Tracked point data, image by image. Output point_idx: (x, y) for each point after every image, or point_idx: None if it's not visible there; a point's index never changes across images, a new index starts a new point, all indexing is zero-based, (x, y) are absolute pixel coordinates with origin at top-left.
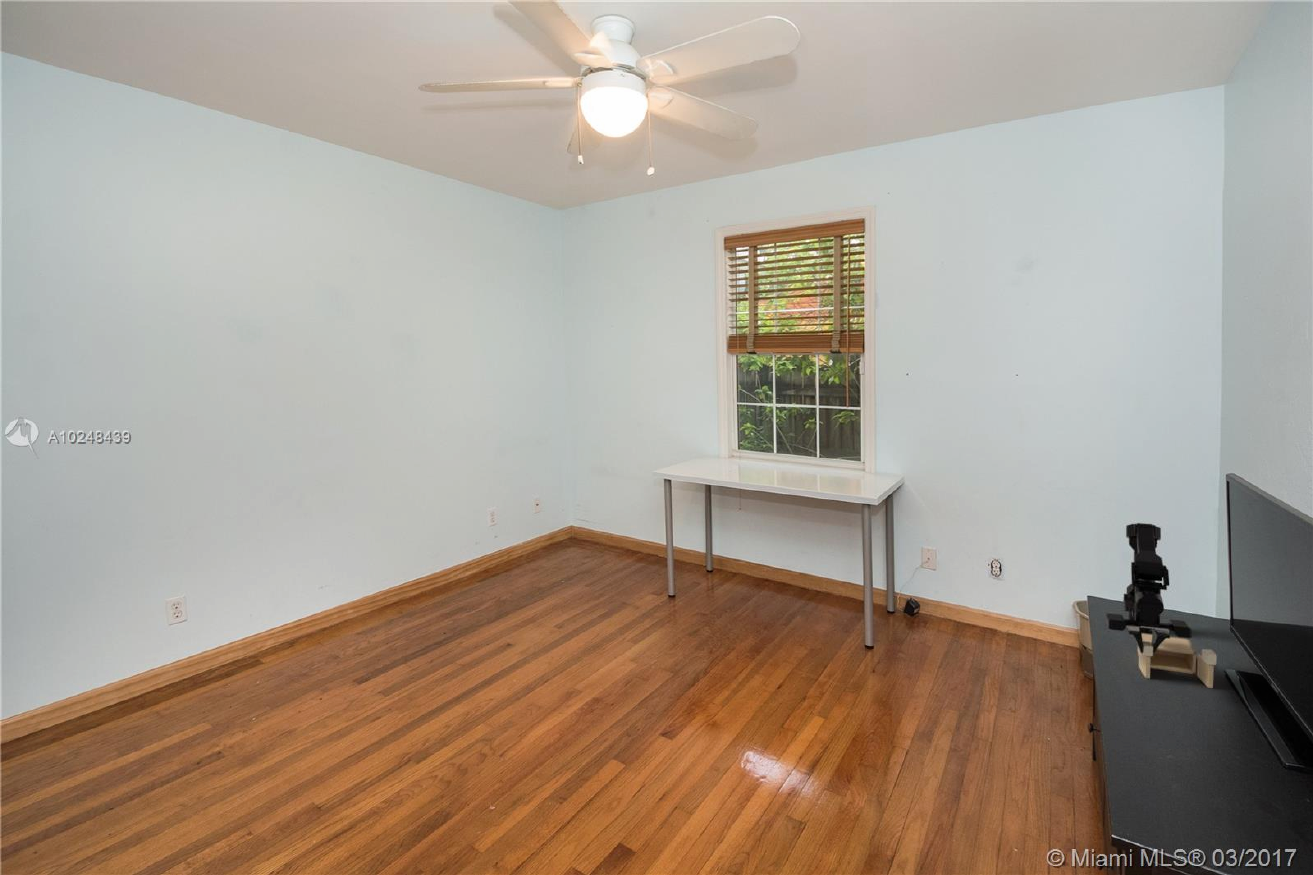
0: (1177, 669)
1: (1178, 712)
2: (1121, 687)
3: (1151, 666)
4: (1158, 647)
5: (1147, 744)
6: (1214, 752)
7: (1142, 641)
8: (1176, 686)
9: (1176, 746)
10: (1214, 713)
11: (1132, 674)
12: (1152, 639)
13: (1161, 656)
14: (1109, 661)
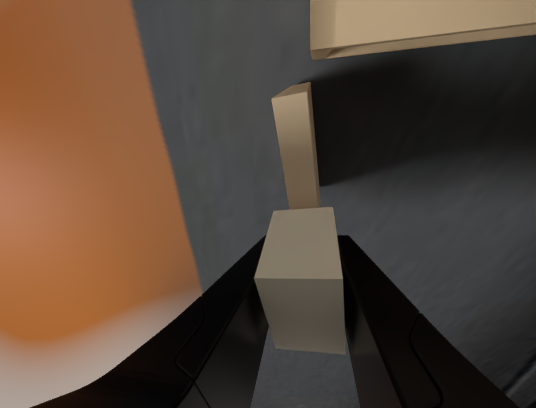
0: (509, 33)
1: None
2: (233, 259)
3: (355, 54)
4: (475, 12)
5: (275, 392)
6: None
7: (266, 290)
8: (407, 205)
9: (315, 394)
10: (450, 320)
11: (263, 164)
12: (373, 367)
13: None
14: (171, 65)
